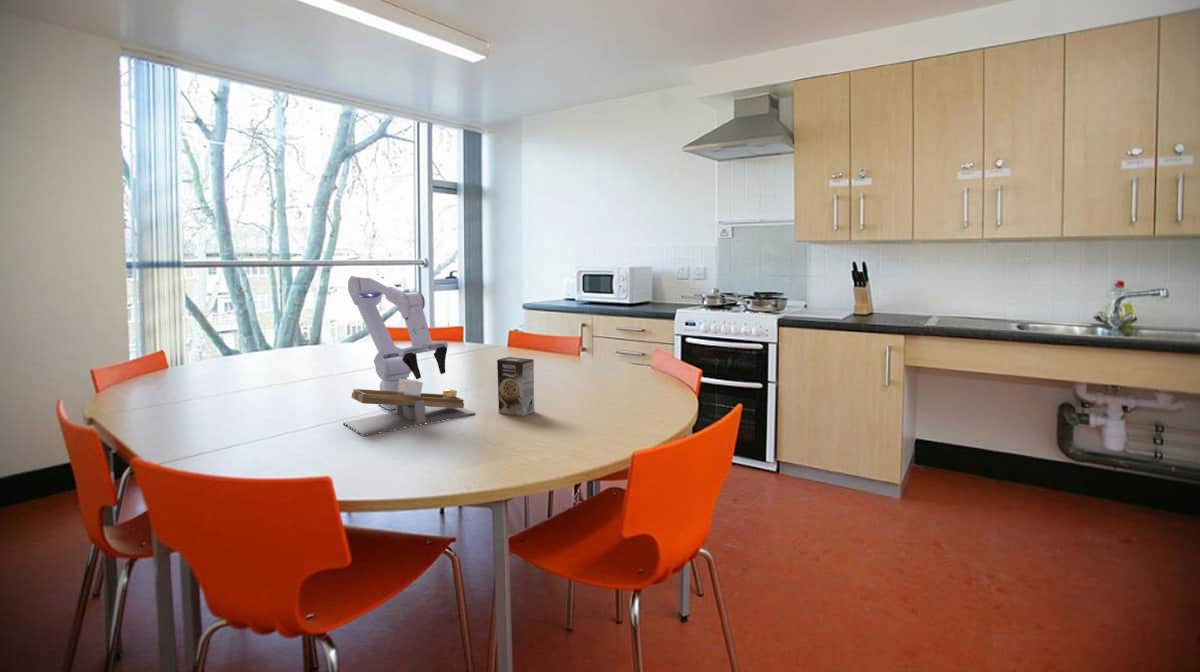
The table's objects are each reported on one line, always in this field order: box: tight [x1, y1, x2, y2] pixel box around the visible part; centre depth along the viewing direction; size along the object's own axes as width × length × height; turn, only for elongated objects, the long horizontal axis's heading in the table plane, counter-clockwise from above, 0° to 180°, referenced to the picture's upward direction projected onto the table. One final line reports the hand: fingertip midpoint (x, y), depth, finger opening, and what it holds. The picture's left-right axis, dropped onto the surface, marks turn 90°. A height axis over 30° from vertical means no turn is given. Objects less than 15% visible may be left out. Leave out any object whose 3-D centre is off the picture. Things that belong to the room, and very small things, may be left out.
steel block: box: [397, 378, 423, 397], centre depth 183 cm, size 5×5×5 cm
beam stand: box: [342, 400, 476, 435], centre depth 184 cm, size 16×33×6 cm, turn 129°
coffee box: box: [496, 356, 535, 417], centre depth 190 cm, size 9×6×16 cm
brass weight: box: [442, 388, 458, 399], centre depth 192 cm, size 4×4×3 cm
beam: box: [350, 388, 465, 408], centre depth 184 cm, size 12×30×2 cm, turn 129°
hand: (431, 375), depth 186 cm, fingers open, 7 cm apart
